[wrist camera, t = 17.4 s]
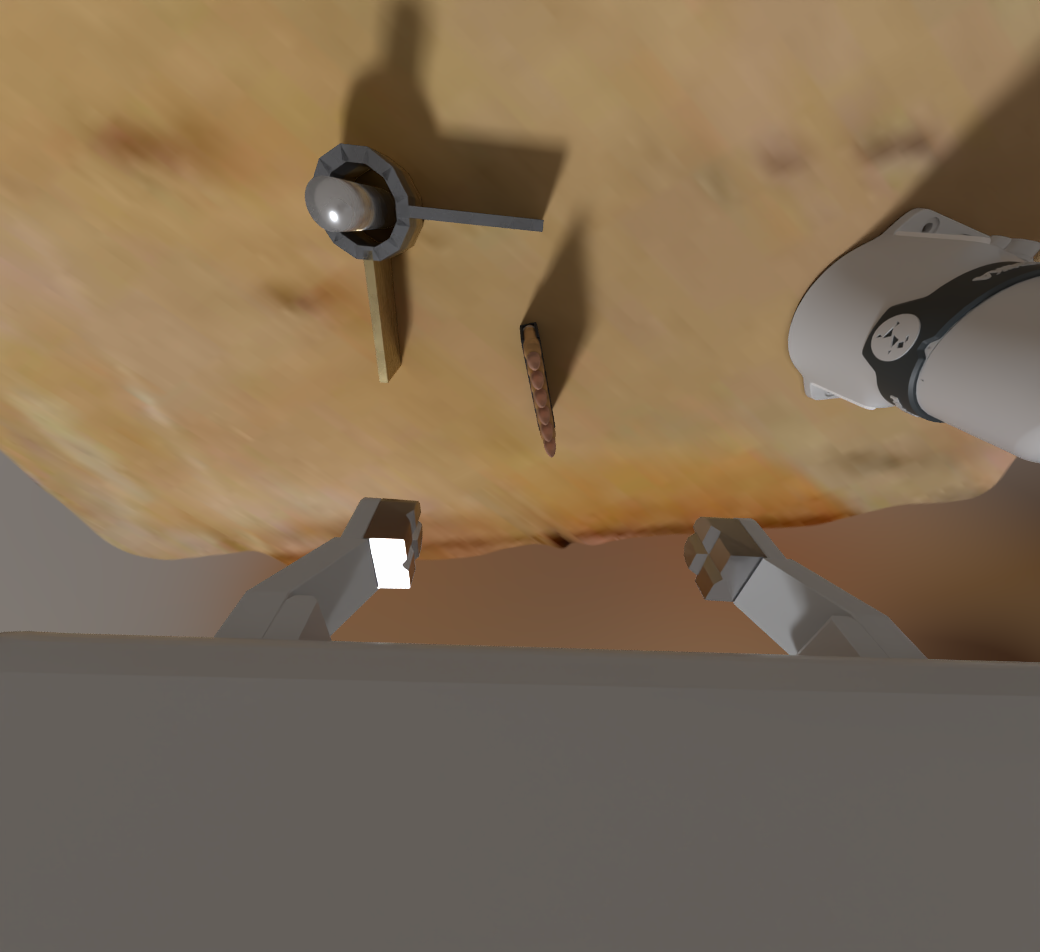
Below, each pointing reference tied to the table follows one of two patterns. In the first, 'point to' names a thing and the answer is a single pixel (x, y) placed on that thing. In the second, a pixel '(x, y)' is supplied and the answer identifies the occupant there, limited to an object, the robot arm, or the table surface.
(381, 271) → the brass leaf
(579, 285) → the table surface
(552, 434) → the ammunition clip
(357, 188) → the hinge pin
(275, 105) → the table surface
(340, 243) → the steel leaf
